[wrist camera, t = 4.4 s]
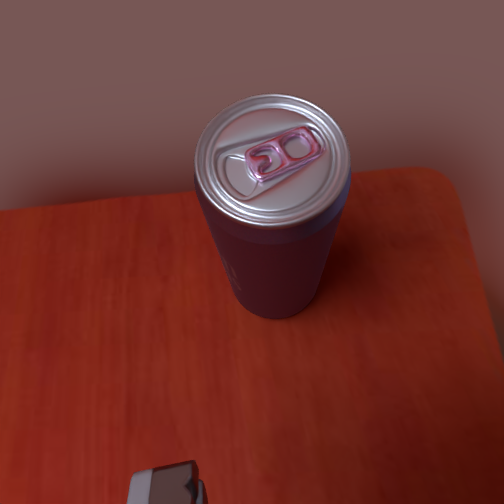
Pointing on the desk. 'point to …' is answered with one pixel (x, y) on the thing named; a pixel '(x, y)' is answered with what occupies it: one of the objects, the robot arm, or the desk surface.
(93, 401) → the desk surface
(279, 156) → the beverage can
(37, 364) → the desk surface
